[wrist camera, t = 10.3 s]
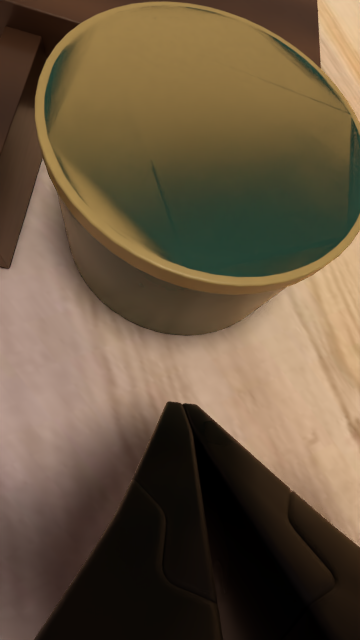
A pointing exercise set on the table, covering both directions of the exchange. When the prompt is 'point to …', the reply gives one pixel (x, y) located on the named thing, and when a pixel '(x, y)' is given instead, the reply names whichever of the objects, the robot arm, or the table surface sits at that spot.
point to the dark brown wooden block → (37, 44)
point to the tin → (195, 162)
